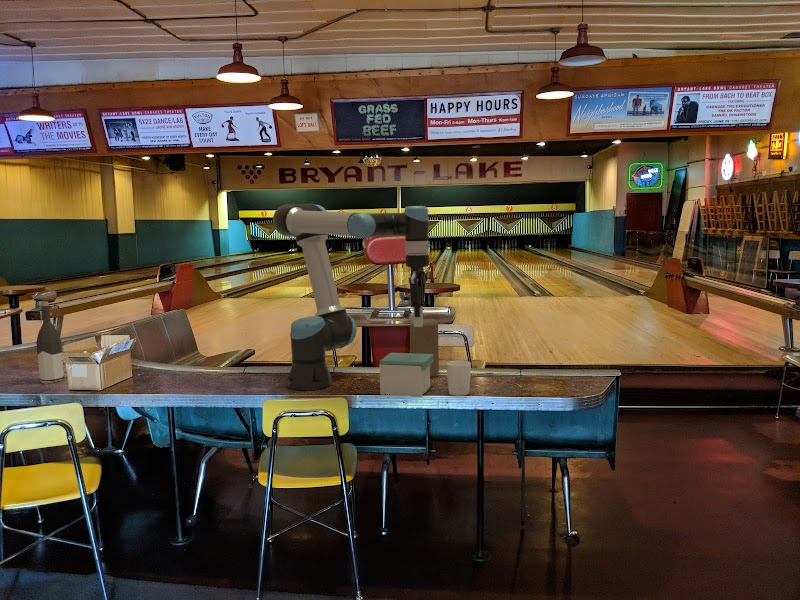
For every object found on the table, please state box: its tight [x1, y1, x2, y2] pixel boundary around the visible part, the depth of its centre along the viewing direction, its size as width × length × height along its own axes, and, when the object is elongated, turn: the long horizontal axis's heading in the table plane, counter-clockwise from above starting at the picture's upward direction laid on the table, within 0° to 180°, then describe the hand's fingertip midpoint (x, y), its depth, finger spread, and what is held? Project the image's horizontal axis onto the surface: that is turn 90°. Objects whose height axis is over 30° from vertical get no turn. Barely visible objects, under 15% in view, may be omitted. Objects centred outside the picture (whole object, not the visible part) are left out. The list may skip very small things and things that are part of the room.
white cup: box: [446, 360, 472, 397], centre depth 205 cm, size 8×8×10 cm
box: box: [379, 363, 431, 397], centre depth 210 cm, size 14×12×10 cm
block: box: [409, 318, 440, 378], centre depth 231 cm, size 10×10×20 cm
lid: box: [379, 352, 433, 370], centre depth 210 cm, size 15×13×2 cm
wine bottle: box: [36, 301, 65, 381], centre depth 235 cm, size 8×8×30 cm
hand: (418, 326), depth 207 cm, fingers closed
